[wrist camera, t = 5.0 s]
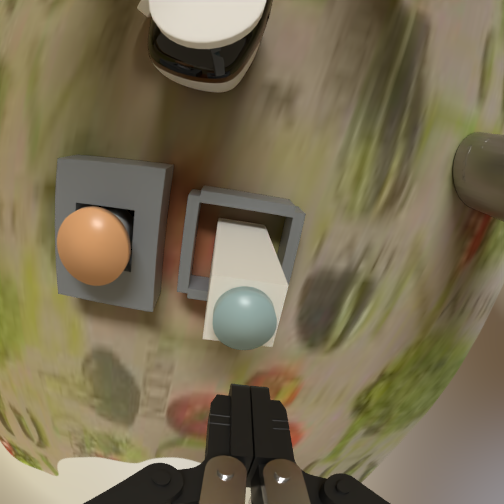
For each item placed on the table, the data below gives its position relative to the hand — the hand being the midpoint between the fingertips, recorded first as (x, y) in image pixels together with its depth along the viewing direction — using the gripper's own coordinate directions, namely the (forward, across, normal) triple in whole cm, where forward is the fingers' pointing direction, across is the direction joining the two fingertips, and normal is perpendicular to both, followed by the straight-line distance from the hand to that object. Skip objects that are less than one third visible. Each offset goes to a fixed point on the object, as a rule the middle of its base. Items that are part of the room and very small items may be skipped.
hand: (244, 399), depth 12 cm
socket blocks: (+20, +6, 0) cm, 21 cm away
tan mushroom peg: (+19, +12, 0) cm, 22 cm away
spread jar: (+20, +7, -19) cm, 29 cm away
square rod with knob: (+20, 0, 0) cm, 20 cm away
